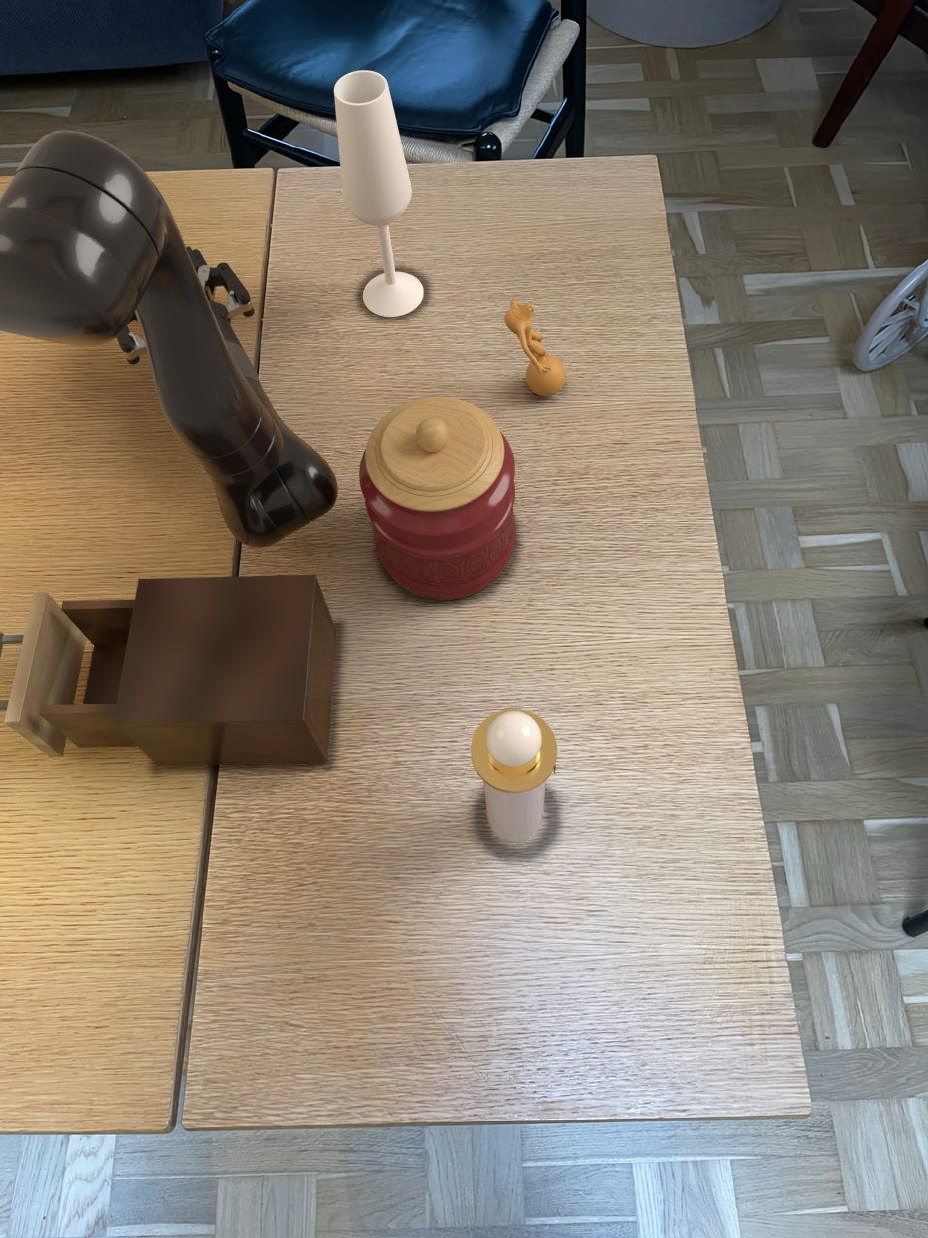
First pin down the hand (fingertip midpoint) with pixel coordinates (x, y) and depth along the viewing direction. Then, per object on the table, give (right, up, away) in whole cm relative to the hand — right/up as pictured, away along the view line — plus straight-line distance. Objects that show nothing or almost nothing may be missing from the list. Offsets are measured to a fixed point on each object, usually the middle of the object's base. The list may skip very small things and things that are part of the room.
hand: (156, 266), depth 102 cm
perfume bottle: (+36, -53, -22) cm, 68 cm away
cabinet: (+13, -43, -16) cm, 48 cm away
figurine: (+39, -14, -2) cm, 42 cm away
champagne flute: (+24, -1, +5) cm, 25 cm away
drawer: (+1, -43, -16) cm, 46 cm away
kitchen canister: (+30, -30, -10) cm, 44 cm away
